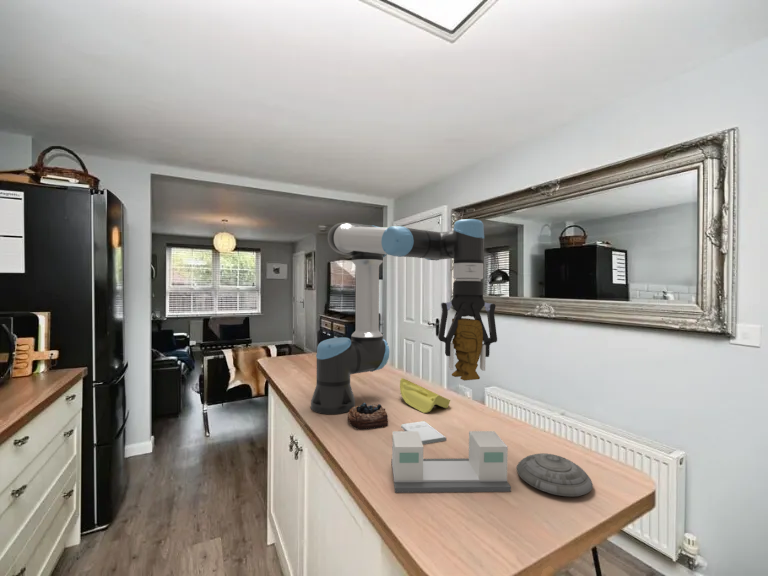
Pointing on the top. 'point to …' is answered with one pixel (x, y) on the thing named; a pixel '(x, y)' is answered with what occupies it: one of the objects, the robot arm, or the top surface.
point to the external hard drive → (424, 432)
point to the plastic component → (421, 397)
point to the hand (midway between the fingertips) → (466, 368)
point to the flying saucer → (554, 475)
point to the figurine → (467, 348)
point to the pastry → (368, 417)
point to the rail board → (450, 465)
